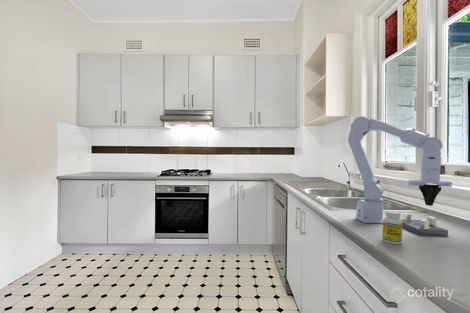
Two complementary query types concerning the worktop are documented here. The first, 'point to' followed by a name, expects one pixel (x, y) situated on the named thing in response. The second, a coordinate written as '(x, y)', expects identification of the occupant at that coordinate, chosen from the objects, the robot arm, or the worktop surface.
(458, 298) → the worktop surface
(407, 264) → the worktop surface
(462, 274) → the worktop surface
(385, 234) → the supplement bottle
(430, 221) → the white slider knob
